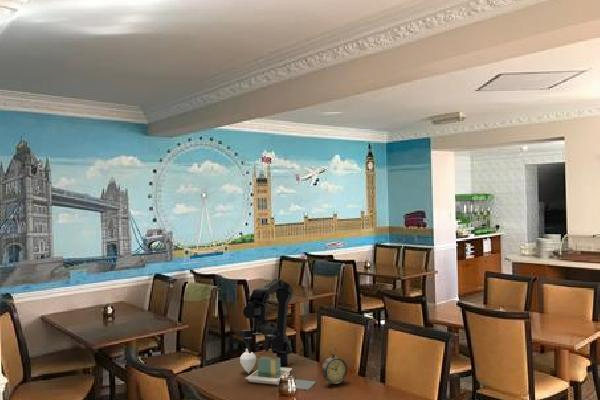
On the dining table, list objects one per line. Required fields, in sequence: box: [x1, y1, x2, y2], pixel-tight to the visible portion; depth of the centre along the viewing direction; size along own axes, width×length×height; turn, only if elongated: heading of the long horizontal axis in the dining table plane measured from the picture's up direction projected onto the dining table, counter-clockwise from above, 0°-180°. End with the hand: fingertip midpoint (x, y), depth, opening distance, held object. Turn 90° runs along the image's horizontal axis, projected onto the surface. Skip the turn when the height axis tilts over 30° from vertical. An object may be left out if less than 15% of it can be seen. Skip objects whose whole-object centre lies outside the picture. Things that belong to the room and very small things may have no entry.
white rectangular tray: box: [245, 366, 293, 386], centre depth 225 cm, size 18×15×3 cm
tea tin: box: [257, 356, 282, 378], centre depth 225 cm, size 5×9×9 cm, turn 69°
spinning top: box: [239, 348, 257, 374], centre depth 234 cm, size 8×8×12 cm
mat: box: [294, 379, 317, 392], centre depth 216 cm, size 10×10×1 cm
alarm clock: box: [321, 346, 348, 388], centre depth 216 cm, size 11×5×16 cm, turn 117°
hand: (258, 352), depth 224 cm, fingers open, 9 cm apart
